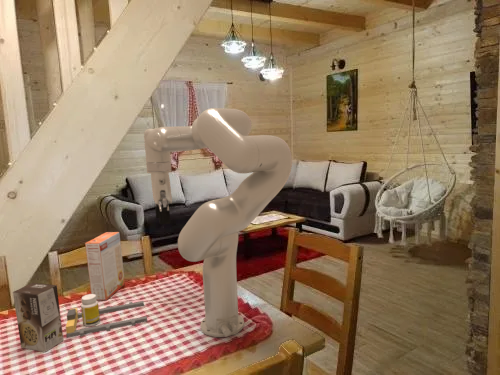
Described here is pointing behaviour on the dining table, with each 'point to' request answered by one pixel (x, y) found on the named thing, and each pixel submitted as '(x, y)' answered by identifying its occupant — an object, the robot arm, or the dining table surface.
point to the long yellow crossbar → (71, 320)
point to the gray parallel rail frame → (110, 325)
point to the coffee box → (38, 316)
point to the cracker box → (105, 265)
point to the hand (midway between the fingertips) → (162, 220)
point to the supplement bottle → (90, 310)
